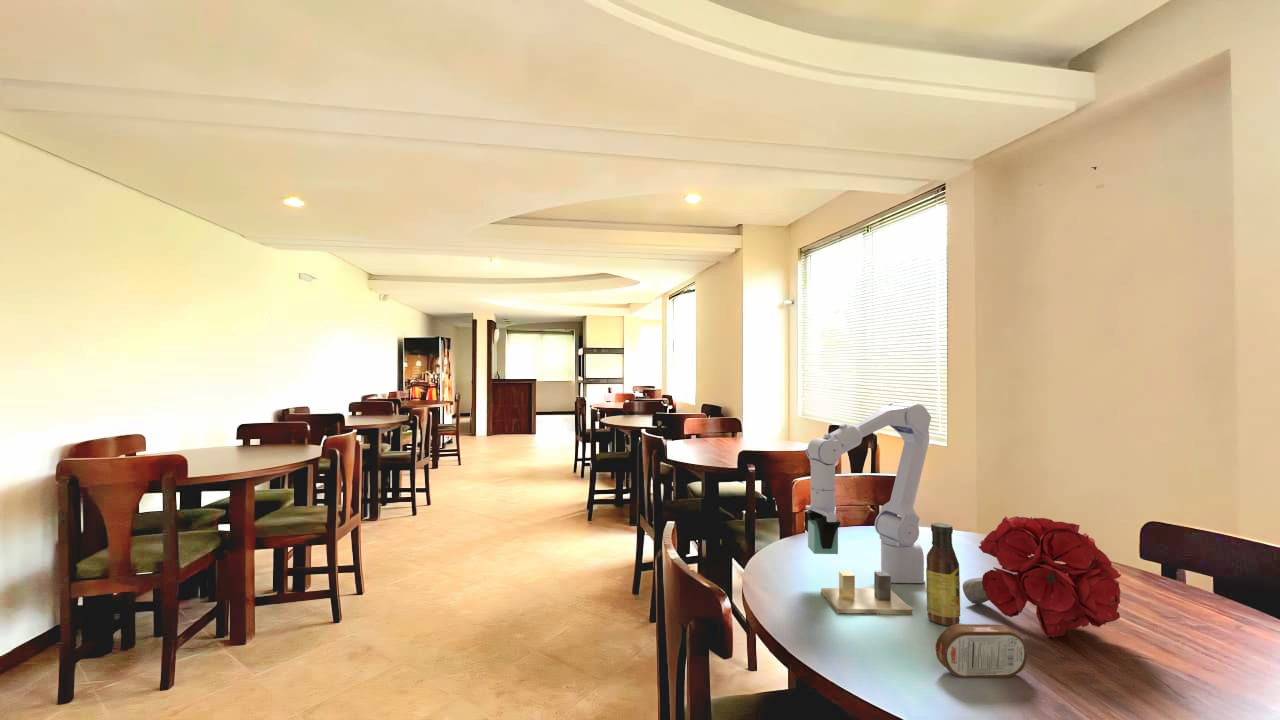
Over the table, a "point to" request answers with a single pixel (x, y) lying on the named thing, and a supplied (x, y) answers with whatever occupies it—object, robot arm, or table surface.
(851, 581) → the brass post
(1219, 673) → the table surface
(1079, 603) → the bouquet
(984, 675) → the tin
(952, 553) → the sauce bottle
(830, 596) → the birch board
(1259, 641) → the table surface
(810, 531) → the pale aqua cube
